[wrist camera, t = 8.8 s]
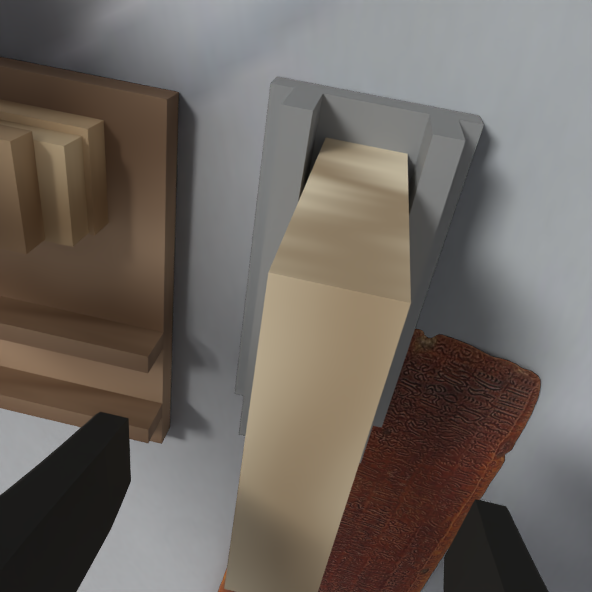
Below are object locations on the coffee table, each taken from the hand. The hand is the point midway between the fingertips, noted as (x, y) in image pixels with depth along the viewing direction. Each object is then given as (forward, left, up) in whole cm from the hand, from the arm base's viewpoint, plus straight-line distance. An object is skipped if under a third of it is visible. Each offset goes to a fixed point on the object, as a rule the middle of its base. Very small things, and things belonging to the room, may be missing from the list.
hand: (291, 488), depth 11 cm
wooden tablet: (+15, +3, -10) cm, 18 cm away
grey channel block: (0, 0, -9) cm, 9 cm away
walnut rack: (+3, -12, -9) cm, 15 cm away
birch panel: (0, 0, -8) cm, 8 cm away
